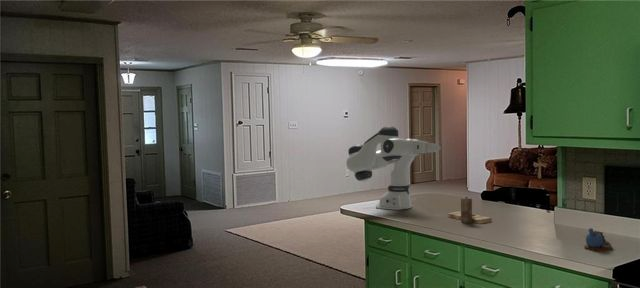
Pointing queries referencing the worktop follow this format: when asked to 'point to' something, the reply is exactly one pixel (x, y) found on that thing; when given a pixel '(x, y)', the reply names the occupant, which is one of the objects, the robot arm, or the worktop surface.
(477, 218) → the board
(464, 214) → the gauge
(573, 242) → the worktop surface
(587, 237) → the model
